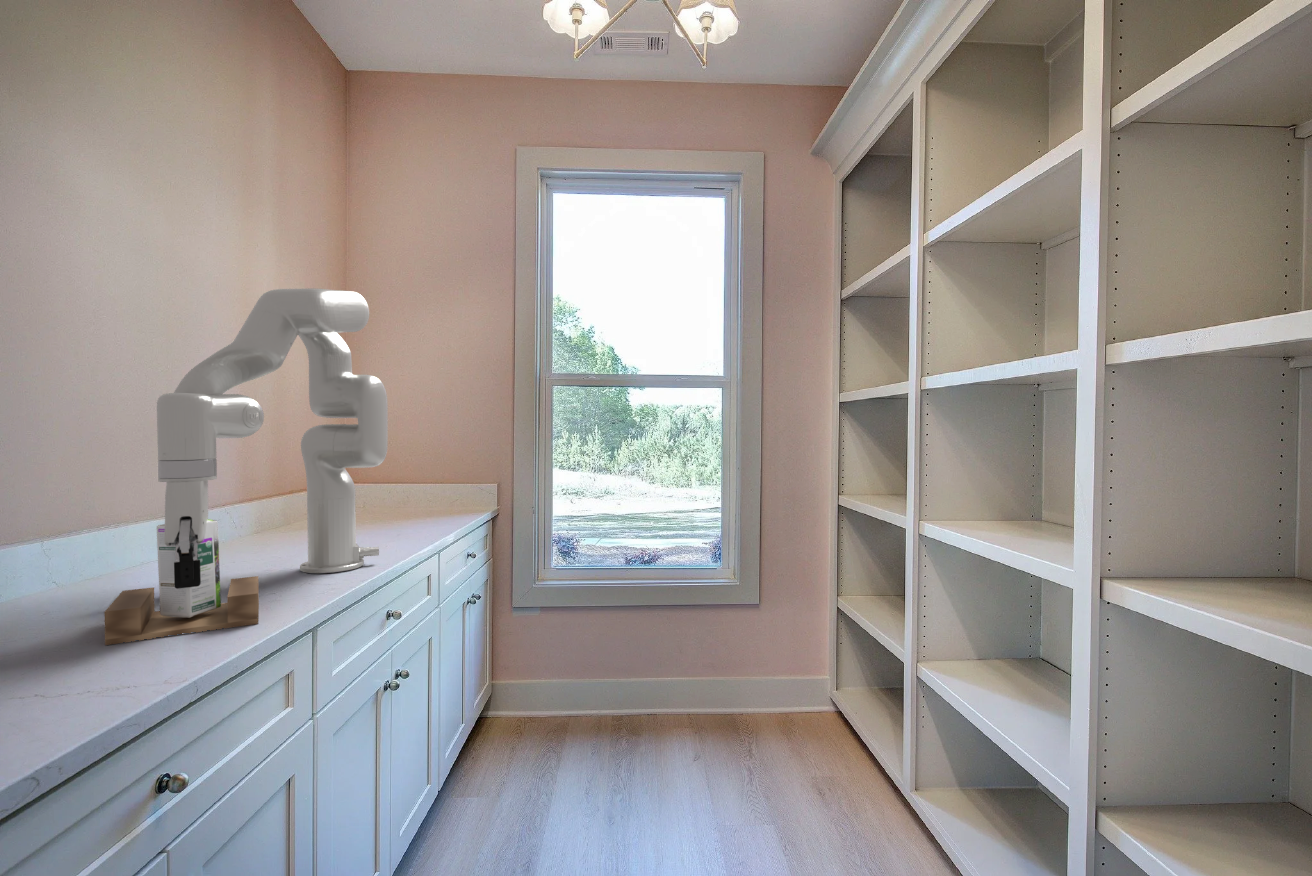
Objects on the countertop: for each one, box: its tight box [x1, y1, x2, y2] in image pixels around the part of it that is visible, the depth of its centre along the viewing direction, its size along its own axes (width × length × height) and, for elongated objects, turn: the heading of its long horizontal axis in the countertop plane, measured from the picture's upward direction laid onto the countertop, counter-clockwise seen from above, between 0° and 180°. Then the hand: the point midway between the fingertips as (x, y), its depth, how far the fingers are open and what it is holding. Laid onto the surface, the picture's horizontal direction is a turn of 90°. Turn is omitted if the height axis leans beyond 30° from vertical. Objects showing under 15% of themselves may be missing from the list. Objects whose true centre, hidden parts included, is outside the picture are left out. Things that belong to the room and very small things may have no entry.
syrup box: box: [156, 518, 222, 618], centre depth 101 cm, size 6×6×14 cm
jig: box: [103, 575, 260, 646], centre depth 101 cm, size 18×14×5 cm
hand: (190, 580), depth 101 cm, fingers closed on syrup box, 7 cm apart
